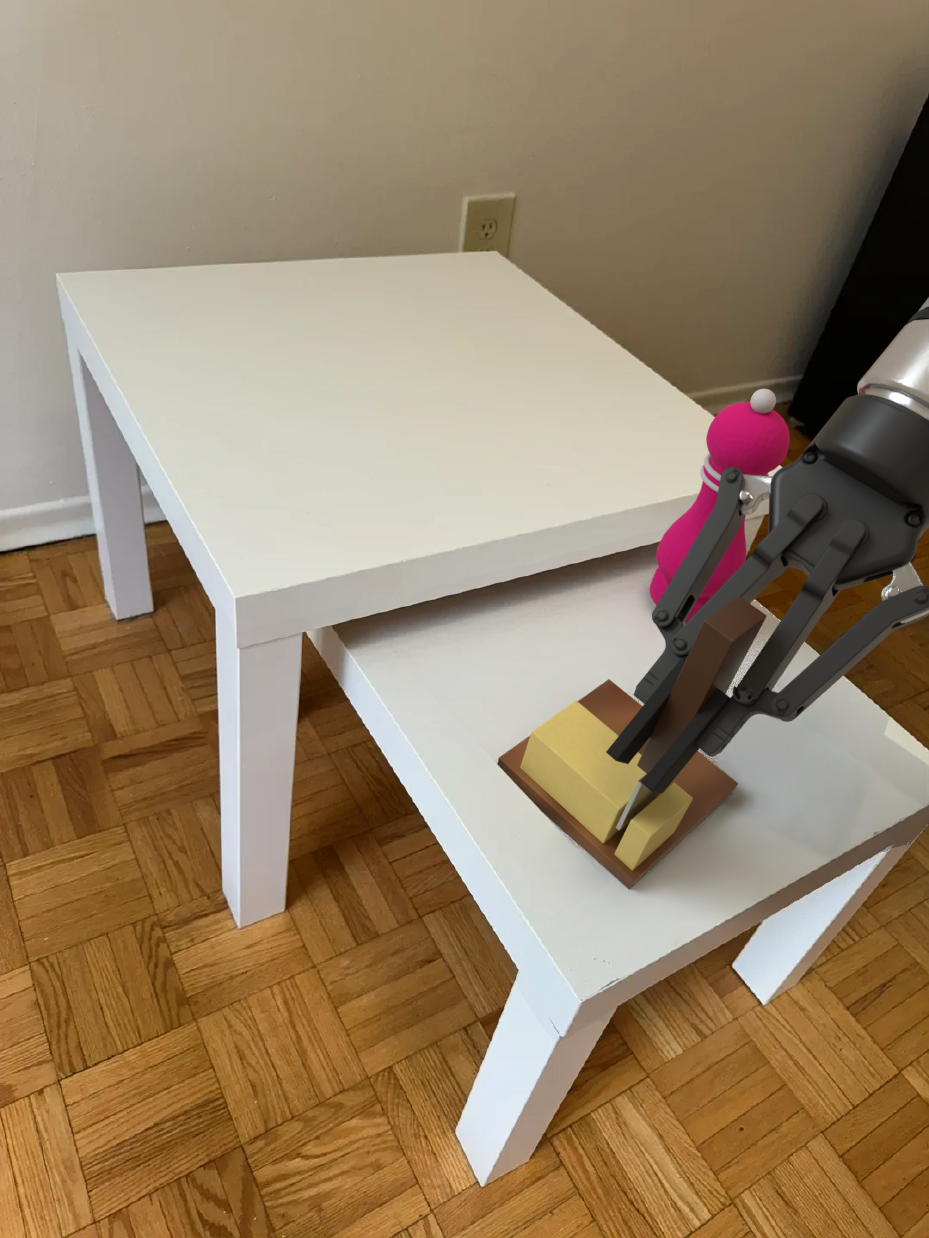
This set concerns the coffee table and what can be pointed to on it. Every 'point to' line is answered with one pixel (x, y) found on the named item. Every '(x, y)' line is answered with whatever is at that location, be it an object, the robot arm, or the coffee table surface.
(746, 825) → the coffee table surface
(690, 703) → the knife
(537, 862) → the coffee table surface
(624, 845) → the butter
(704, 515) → the pepper mill
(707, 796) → the board
